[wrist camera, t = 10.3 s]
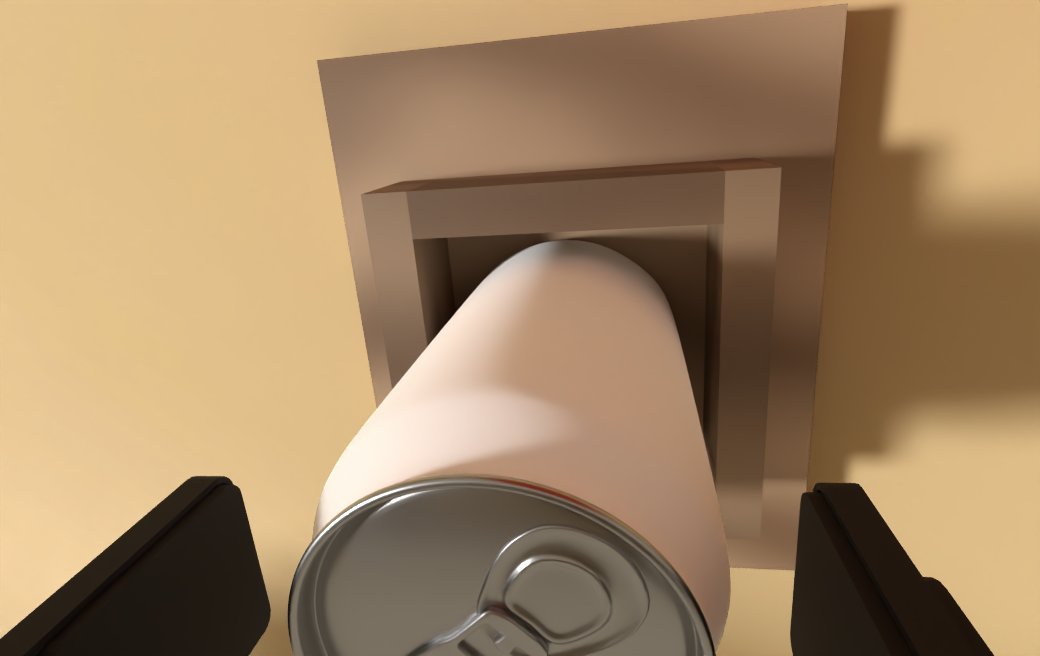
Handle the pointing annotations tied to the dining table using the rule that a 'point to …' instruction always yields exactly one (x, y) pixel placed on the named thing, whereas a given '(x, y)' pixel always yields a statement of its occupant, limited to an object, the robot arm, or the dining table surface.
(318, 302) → the dining table surface
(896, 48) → the dining table surface
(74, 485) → the dining table surface
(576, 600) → the can
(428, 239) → the caddy
